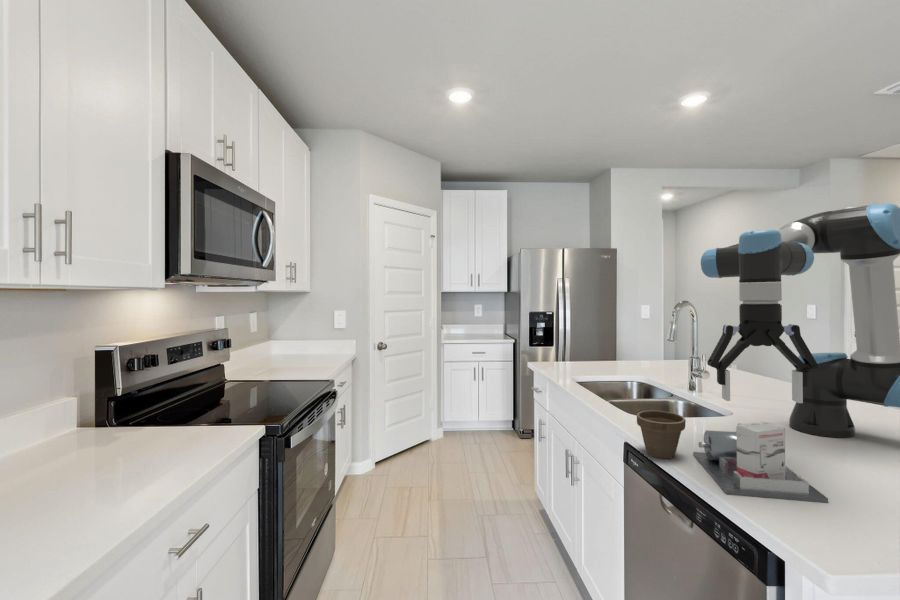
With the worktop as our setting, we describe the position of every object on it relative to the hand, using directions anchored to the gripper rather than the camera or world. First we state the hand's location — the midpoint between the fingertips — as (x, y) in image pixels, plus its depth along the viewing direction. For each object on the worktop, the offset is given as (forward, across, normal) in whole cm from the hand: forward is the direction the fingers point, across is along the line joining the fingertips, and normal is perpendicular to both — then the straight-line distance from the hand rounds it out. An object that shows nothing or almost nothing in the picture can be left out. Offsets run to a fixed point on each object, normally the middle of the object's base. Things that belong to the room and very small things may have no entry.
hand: (761, 400), depth 97 cm
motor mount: (+18, 0, -4) cm, 19 cm away
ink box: (+18, 0, 0) cm, 18 cm away
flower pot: (+18, +17, -14) cm, 29 cm away
